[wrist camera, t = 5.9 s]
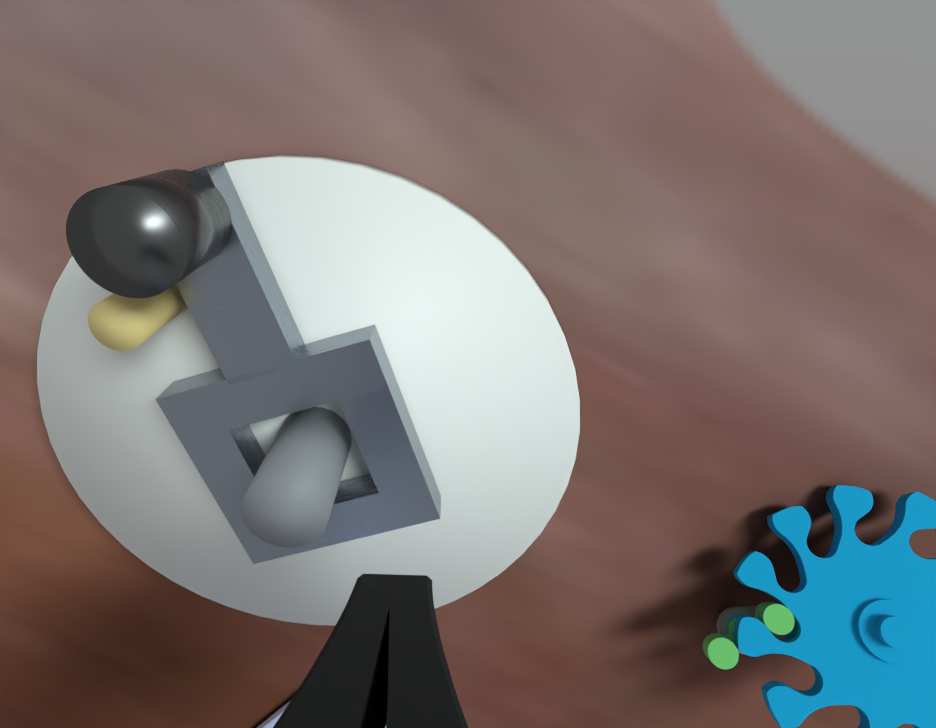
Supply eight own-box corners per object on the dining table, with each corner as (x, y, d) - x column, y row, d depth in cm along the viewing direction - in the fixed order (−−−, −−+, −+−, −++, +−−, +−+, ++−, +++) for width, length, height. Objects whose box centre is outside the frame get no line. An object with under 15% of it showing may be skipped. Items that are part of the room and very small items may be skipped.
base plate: (358, 666, 26) (337, 786, 21) (-37, 431, 21) (-177, 526, 16) (678, 412, 21) (740, 501, 16) (261, 4, 15) (179, -33, 11)
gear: (1014, 468, 20) (1144, 814, 17) (928, 487, 26) (1013, 750, 22) (681, 497, 22) (738, 808, 19) (668, 509, 28) (710, 751, 24)
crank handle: (441, 496, 20) (437, 588, 17) (263, 539, 21) (221, 638, 17) (299, 128, 15) (247, 139, 12) (70, 202, 16) (-50, 236, 12)
